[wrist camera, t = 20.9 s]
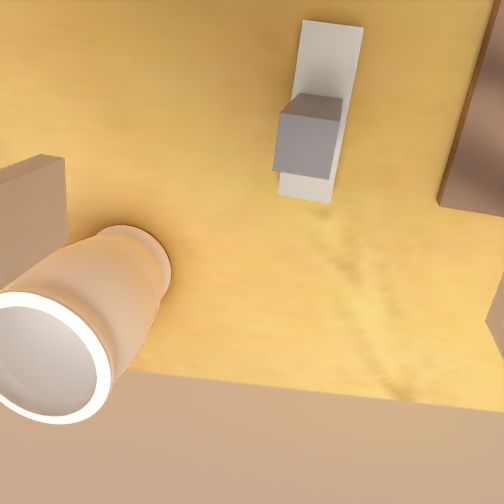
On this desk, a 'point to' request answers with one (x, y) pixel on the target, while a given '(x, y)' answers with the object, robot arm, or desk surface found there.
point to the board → (480, 133)
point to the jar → (79, 323)
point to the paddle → (317, 110)
